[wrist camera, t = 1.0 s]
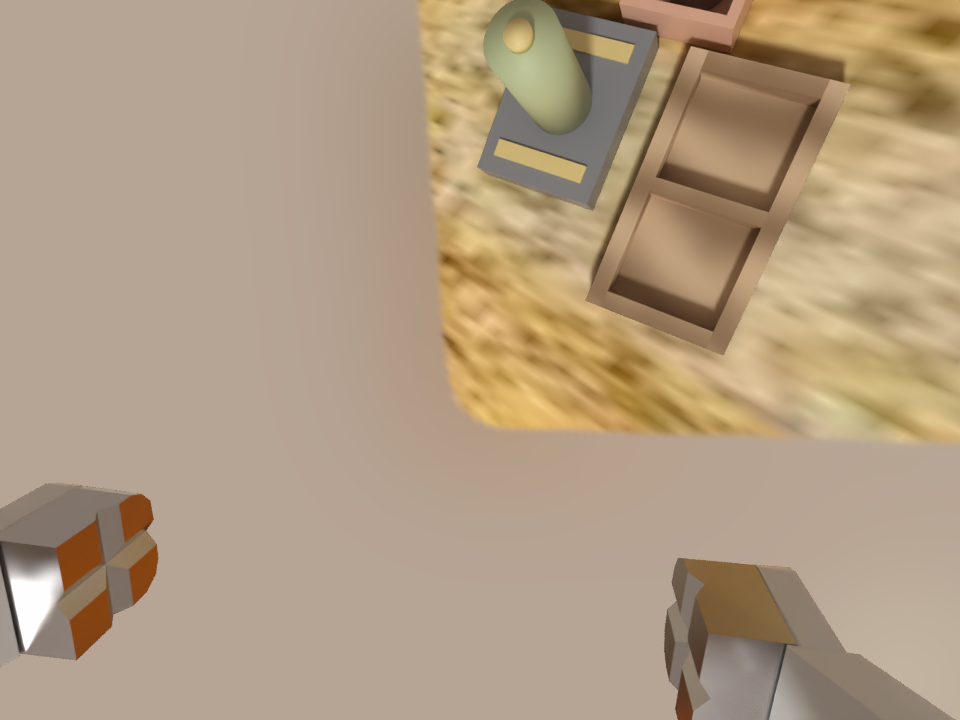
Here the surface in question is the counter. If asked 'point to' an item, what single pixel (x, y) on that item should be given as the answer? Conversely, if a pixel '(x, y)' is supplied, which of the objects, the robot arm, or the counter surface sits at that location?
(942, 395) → the counter surface
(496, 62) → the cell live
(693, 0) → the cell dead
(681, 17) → the pink square open box
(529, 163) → the block
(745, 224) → the brown divided tray
